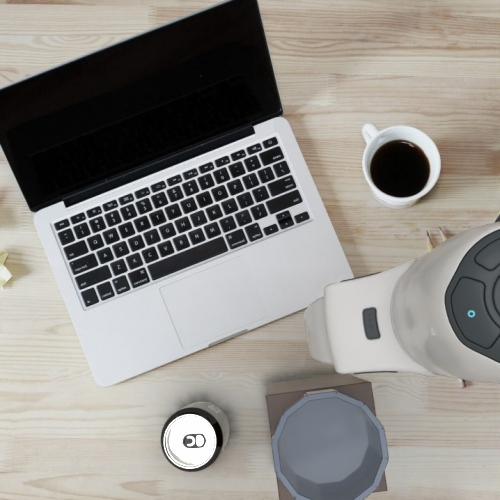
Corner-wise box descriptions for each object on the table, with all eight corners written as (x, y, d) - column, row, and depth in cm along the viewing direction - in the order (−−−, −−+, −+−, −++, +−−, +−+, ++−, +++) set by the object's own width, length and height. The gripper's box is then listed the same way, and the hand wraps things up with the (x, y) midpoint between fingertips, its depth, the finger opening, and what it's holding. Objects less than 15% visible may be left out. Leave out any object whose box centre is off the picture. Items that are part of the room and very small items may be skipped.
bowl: (370, 382, 60) (377, 385, 55) (386, 490, 59) (395, 502, 54) (266, 396, 61) (265, 400, 56) (281, 503, 59) (280, 516, 54)
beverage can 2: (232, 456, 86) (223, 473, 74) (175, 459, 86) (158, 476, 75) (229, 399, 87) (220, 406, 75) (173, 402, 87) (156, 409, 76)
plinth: (344, 372, 87) (371, 381, 60) (355, 448, 86) (387, 491, 59) (271, 382, 87) (265, 395, 61) (280, 457, 86) (279, 504, 59)
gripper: (595, 248, 49) (529, 270, 63) (302, 287, 50) (300, 300, 64) (614, 339, 48) (543, 341, 62) (315, 377, 49) (310, 371, 63)
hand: (418, 321), depth 63 cm, fingers closed on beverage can, 5 cm apart
